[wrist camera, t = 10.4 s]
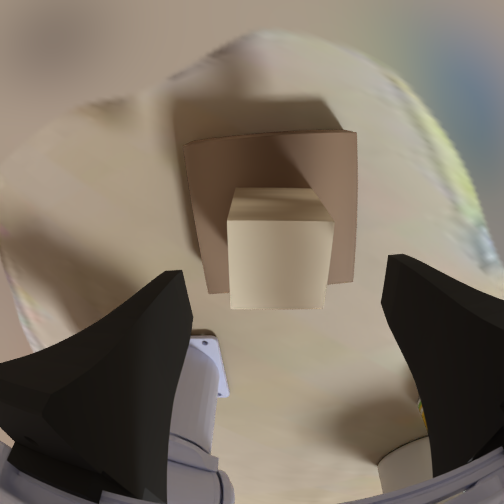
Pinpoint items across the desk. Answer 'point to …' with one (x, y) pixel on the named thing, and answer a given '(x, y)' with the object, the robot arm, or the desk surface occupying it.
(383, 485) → the cylinder vase
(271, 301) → the maple block
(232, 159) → the walnut block
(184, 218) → the desk surface
